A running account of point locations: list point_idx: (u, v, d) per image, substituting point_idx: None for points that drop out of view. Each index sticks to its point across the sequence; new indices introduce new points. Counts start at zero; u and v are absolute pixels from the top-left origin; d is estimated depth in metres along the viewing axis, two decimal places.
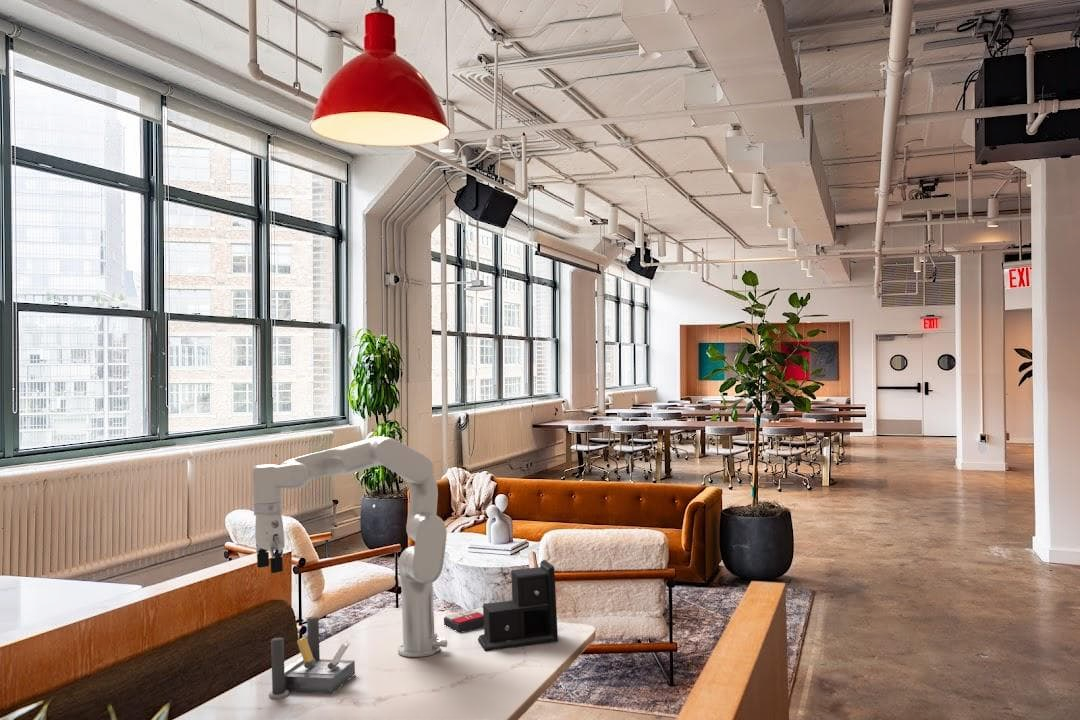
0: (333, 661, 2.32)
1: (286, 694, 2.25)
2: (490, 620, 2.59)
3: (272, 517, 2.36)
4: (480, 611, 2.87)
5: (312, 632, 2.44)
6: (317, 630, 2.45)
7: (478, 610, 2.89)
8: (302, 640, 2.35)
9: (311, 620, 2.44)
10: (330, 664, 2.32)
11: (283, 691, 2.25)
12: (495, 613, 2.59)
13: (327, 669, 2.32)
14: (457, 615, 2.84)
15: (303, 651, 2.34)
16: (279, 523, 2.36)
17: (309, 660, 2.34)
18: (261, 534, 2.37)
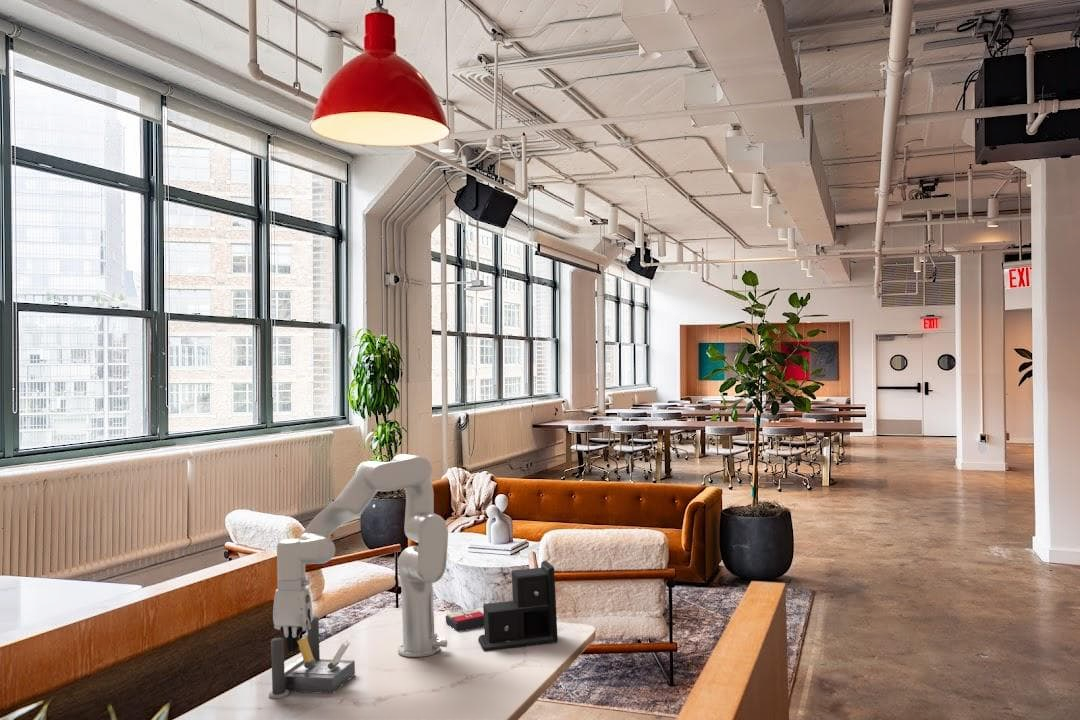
0: (333, 661, 2.32)
1: (286, 694, 2.25)
2: (489, 620, 2.59)
3: (305, 592, 2.35)
4: (482, 610, 2.88)
5: (312, 632, 2.44)
6: (317, 630, 2.45)
7: (480, 609, 2.90)
8: (303, 640, 2.35)
9: None
10: (330, 664, 2.32)
11: (283, 691, 2.25)
12: (495, 614, 2.59)
13: (327, 669, 2.32)
14: (458, 614, 2.86)
15: (303, 651, 2.34)
16: (309, 597, 2.37)
17: (309, 660, 2.34)
18: (290, 611, 2.34)
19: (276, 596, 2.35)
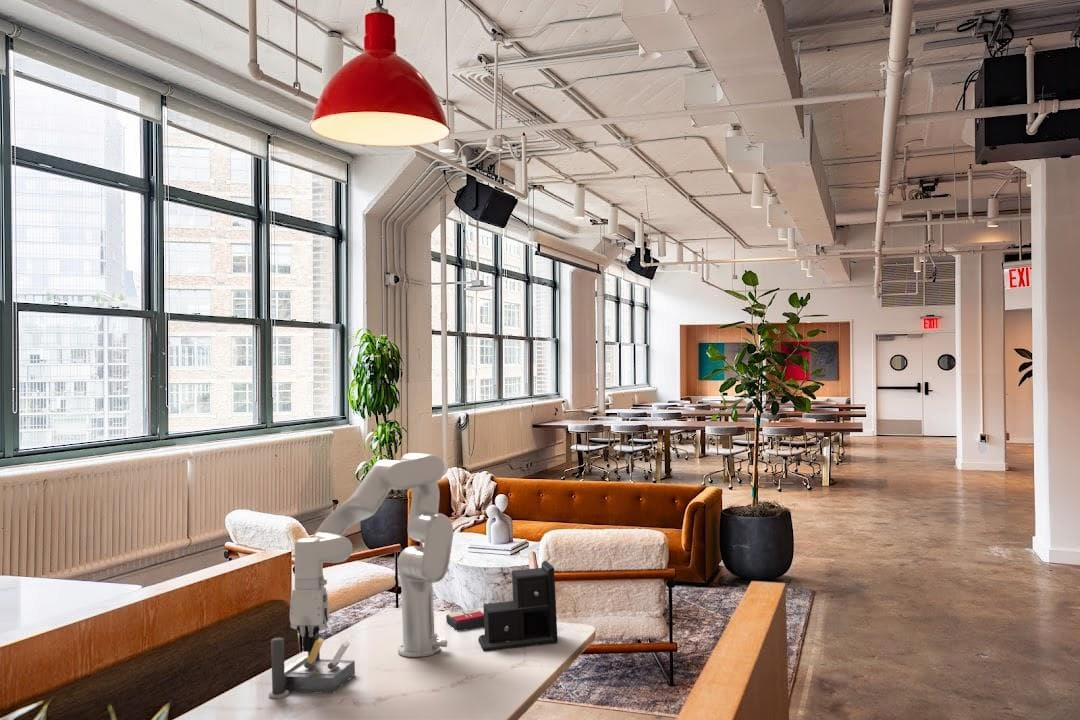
0: (333, 661, 2.32)
1: (286, 694, 2.25)
2: (489, 620, 2.59)
3: (322, 591, 2.34)
4: (482, 610, 2.88)
5: None
6: None
7: (481, 609, 2.90)
8: (319, 643, 2.34)
9: None
10: (330, 664, 2.32)
11: (283, 691, 2.25)
12: (495, 614, 2.59)
13: (327, 669, 2.32)
14: (459, 613, 2.86)
15: (313, 653, 2.33)
16: (326, 597, 2.35)
17: (311, 662, 2.34)
18: (307, 610, 2.32)
19: (293, 595, 2.34)
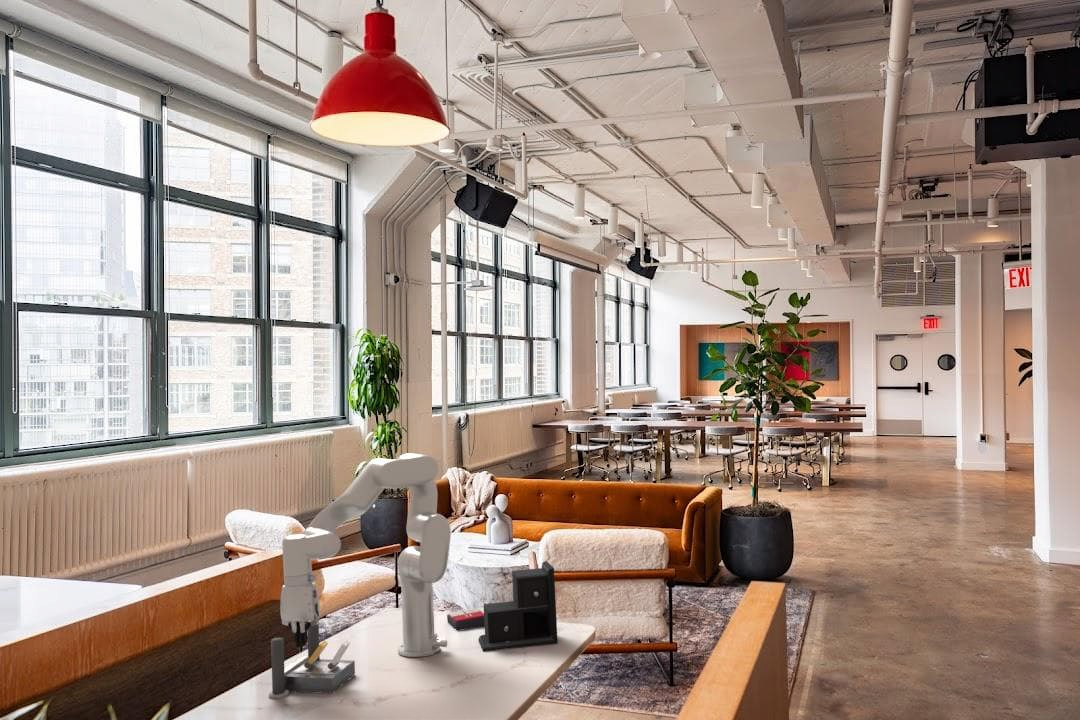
0: (333, 661, 2.32)
1: (286, 694, 2.25)
2: (489, 620, 2.59)
3: (312, 587, 2.35)
4: (483, 610, 2.88)
5: (312, 632, 2.44)
6: (317, 630, 2.45)
7: (482, 609, 2.90)
8: (323, 647, 2.33)
9: None
10: (330, 664, 2.32)
11: (283, 691, 2.25)
12: (494, 614, 2.59)
13: (327, 669, 2.32)
14: (459, 613, 2.87)
15: (315, 655, 2.33)
16: (316, 592, 2.36)
17: (311, 663, 2.34)
18: (297, 606, 2.34)
19: (283, 592, 2.35)
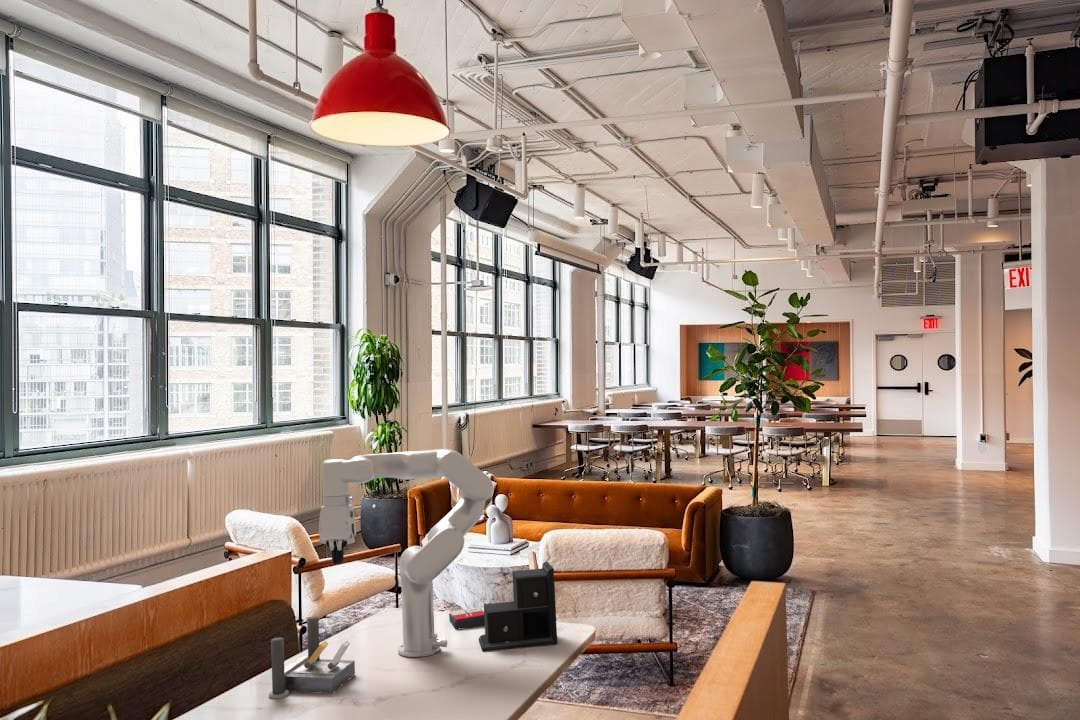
0: (333, 661, 2.32)
1: (286, 694, 2.25)
2: (488, 621, 2.58)
3: (349, 508, 2.51)
4: None
5: (312, 632, 2.44)
6: (317, 630, 2.45)
7: None
8: (323, 647, 2.33)
9: (311, 620, 2.44)
10: (330, 664, 2.32)
11: (283, 691, 2.25)
12: (494, 614, 2.59)
13: (327, 669, 2.32)
14: (461, 612, 2.88)
15: (315, 655, 2.33)
16: (353, 513, 2.52)
17: (311, 663, 2.34)
18: (335, 525, 2.49)
19: (322, 512, 2.51)
